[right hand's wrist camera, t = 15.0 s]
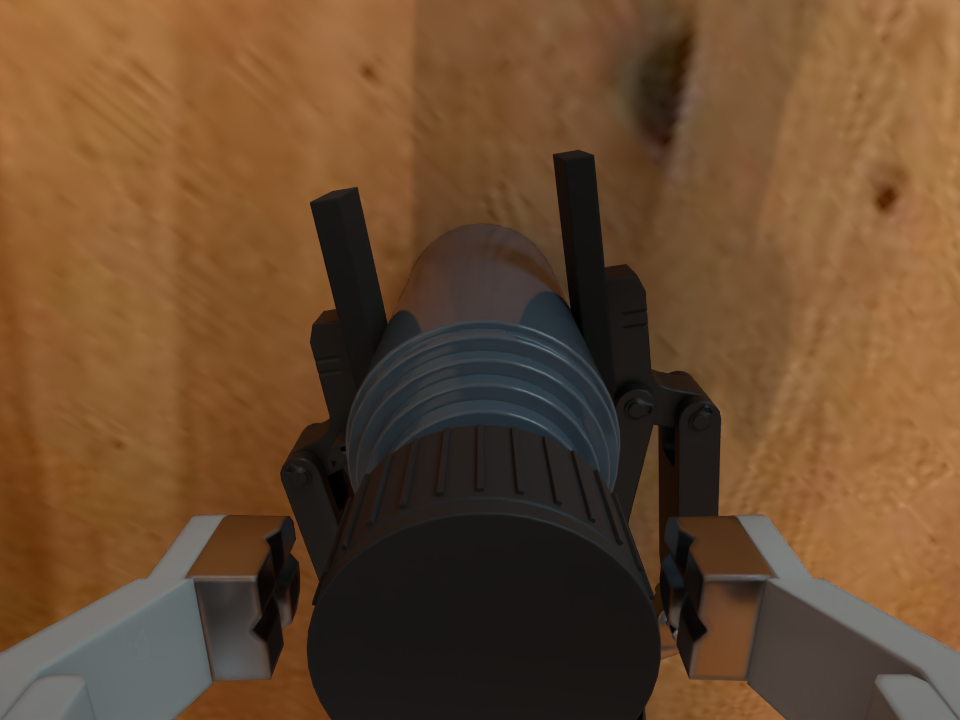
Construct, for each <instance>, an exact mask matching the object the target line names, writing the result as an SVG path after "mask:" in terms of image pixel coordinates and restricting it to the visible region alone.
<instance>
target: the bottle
mask: <svg viewBox="0 0 960 720" xmlns="http://www.w3.org/2000/svg"><path fill="white" fill-rule="evenodd" d="M478 424H483V425H499V426H505V427H512V426H514V427H517V428H518V429H522V430H525V431H529V432H533V433H536V434H539V435H541V436H544V435H546V436H548V437H549V439H551V440H553V441H555V442H557V443H559V444H561V445H562V446H564V447H566V448H568V449H569V450H571V451H572V450H575V451H576V452H577V454H578V456H579V457H580V458H582V459H583V460H584V461H586V462H587V463H588V464H589V465H590V466H591V467H592V468H593V469H594V470H596V469H598V470H599V472H600V473H601V476H602V479H603V481H604V483H605V484H606V485H607V487H608V488H609V490H610V492H611V494H612V492H613V489H614V485H615V481H616V478H617V473H618V464H619V455H620V428H619V422H618V417H617V413H616V410H615V407H614V404H613V401H612V398H611V396H610V394H609V392H608V390H607V387H606V385H605V383H604V381H603V379H602V377H601V374H600V372H599V370H598V368H597V366H596V364H595V362H594V359H593V357H592V355H591V353H590V351H589V349H588V346H587V344H586V342H585V340H584V338H583V336H582V334H581V331H580V329H579V327H578V325H577V323H576V321H575V318H574V316H573V314H572V312H571V310H570V308H569V306H568V303H567V301H566V299H565V297H564V295H563V293H562V290H561V288H560V286H559V284H558V282H557V280H556V278H555V275H554V273H553V271H552V269H551V267H550V265H549V263H548V261H547V259H546V258H545V256H544V255H543V254H542V252H541V251H540V250H539V249H538V248H537V247H536V246H535V244H533V243H532V242H531V241H530V240H529V239H527V238H526V237H524V236H523V235H521V234H519V233H518V232H515V231H513V230H511V229H509V228H505V227H502V226H498V225H492V224H473V225H467V226H463V227H459V228H456V229H454V230H451V231H449V232H447V233H445V234H443V235H442V236H440V237H439V238H437V239H436V240H435V241H433V242H432V243H431V244H430V245H429V246H428V247H427V248H426V249H425V250H424V252H423V253H422V254H421V255H420V257H419V259H418V260H417V262H416V264H415V266H414V268H413V270H412V272H411V274H410V277H409V279H408V281H407V283H406V285H405V288H404V290H403V292H402V294H401V297H400V299H399V301H398V303H397V305H396V308H395V310H394V312H393V314H392V316H391V319H390V321H389V323H388V325H387V327H386V330H385V332H384V334H383V336H382V339H381V341H380V343H379V345H378V347H377V350H376V352H375V354H374V356H373V358H372V361H371V363H370V365H369V367H368V369H367V372H366V374H365V376H364V378H363V381H362V383H361V385H360V387H359V389H358V392H357V394H356V396H355V399H354V401H353V404H352V406H351V409H350V413H349V417H348V421H347V428H346V438H345V443H346V457H347V464H348V472H349V477H350V482H351V485H352V488H353V491H354V494H355V493H356V492H357V490H358V489H359V487H360V485H361V482H362V479H363V476H364V475H365V474H366V473H367V474H370V473H371V471H372V470H373V469H374V468H375V467H376V466H377V465H378V464H380V463H381V462H382V461H383V460H384V458H385V455H387V454H388V453H390V454H392V453H393V452H395V451H396V450H398V449H399V448H401V447H402V446H404V445H406V444H408V443H410V442H412V440H413V439H414V438H416V437H418V438H420V437H423V436H426V435H429V434H431V433H435V432H437V431H441V430H444V428H448V427H449V428H455V427H461V426H472V425H478Z"/></svg>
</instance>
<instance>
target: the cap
mask: <svg viewBox="0 0 960 720" xmlns="http://www.w3.org/2000/svg"><path fill="white" fill-rule="evenodd" d="M654 599H655V598H654V595H653V592H652V589H651V586H650V584H649V581H648V578H647V575H646V573H645V570H644V567H643V564H642V561H641V559H640V556H639V553H638V550H637V548H636V545H635V542H634V539H633V537H632V534H631V531H630V528H629V525H628V523H627V520H626V518H625V517H624V514H623V512H622V509H621V506H620V503H619V501H618V498H617V495H616V493H615V492H614V493H612V494H611V492H610V490H609V488H608V487H607V485H606V484H605V483H604V481H603V479H602V476H601V473H600V472H599V470H598V469H596V470H594V469H593V468H592V467H591V466H590V465H589V464H588V463H587V462H586V461H584V460H583V459H582V458H580V457H579V456H578V454H577V452H576V451H575V450H572V451H571V450H569V449H568V448H566V447H564V446H562V445H561V444H559V443H557V442H555V441H553V440H551V439H549V437H548V436H546V435H544V436H541V435H539V434H536V433H533V432H529V431H525V430H522V429H518V428H517V427H514V426H512V427H505V426H499V425H483V424H478V425H472V426H461V427H455V428H449V427H448V428H444V430H441V431H437V432H435V433H431V434H429V435H426V436H423V437H420V438H418V437H416V438H414V439H413V440H412V442H410V443H408V444H406V445H404V446H402V447H401V448H399V449H398V450H396V451H395V452H393V453H392V454H390V453H388V454H387V455H385V458H384V460H383V461H382V462H381V463H380V464H378V465H377V466H376V467H375V468H374V469H373V470H372V471H371V473H370V474H367V473H366V474H365V475H364V476H363V479H362V482H361V485H360V487H359V489H358V490H357V492H356V493H355V495H354V497H353V498H352V497H349V499H348V501H347V504H346V507H345V510H344V513H343V516H342V518H341V521H340V524H339V527H338V530H337V533H336V535H335V538H334V541H333V544H332V547H331V550H330V553H329V556H328V558H327V561H326V564H325V567H324V570H323V573H322V576H321V578H320V581H319V584H318V587H317V590H316V593H315V596H314V598H313V602H312V605H315V608H314V611H313V614H312V618H311V622H310V626H309V630H308V639H307V658H308V668H309V672H310V676H311V680H312V684H313V687H314V689H315V691H316V694H317V696H318V698H319V701H320V703H321V704H322V706H323V707H324V709H325V711H326V712H327V714H328V715H329V717H330V718H331V720H636V719H637V718H638V717H639V715H640V714H641V712H642V711H643V710H644V708H645V706H646V704H647V702H648V700H649V698H650V696H651V694H652V692H653V689H654V686H655V683H656V680H657V677H658V672H659V666H660V660H661V637H660V631H659V626H658V620H657V617H656V614H655V612H654V609H653V606H652V603H651V600H654Z"/></svg>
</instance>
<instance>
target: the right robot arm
mask: <svg viewBox="0 0 960 720" xmlns="http://www.w3.org/2000/svg"><path fill="white" fill-rule="evenodd" d="M295 540H296V536H295V529H294V523H293V520H292V519H291V518H290V516H261V515H228V516H227V515H197V516H194V517H192V518H191V519H190V520H189V521H188V523H187V524H186V525H185V527H184V528H183V530H182V531H181V532H180V534H179V535H178V536H177V538H176V539H175V540H174V542H173V543H172V545H171V546H170V547H169V549H168V550H167V551H166V553H165V554H164V555H163V557H162V558H161V559H160V561H159V562H158V564H157V565H156V566H155V568H154V569H153V570H152V572H151V573H150V574H149V576H148V577H147V579H135V580H133V581H132V582H130V583H128V584H126V585H124V586H122V587H121V588H119V589H117V590H115V591H113V592H111V593H109V594H108V595H106V596H104V597H102V598H100V599H98V600H97V601H95V602H93V603H91V604H89V605H87V606H86V607H84V608H82V609H80V610H78V611H76V612H75V613H73V614H71V615H69V616H67V617H65V618H63V619H62V620H60V621H58V622H56V623H54V624H52V625H51V626H49V627H47V628H45V629H43V630H41V631H40V632H38V633H36V634H34V635H32V636H30V637H28V638H27V639H25V640H23V641H21V642H19V643H17V644H16V645H14V646H12V647H10V648H8V649H6V650H5V651H3V652H1V653H0V720H174V719H175V718H176V717H177V716H178V715H179V714H181V713H182V712H183V711H184V710H185V709H186V708H187V707H188V706H189V705H190V704H191V703H193V702H194V701H195V700H196V699H197V698H198V697H199V696H200V695H201V694H202V693H203V692H204V691H206V690H207V689H208V688H209V687H210V686H211V685H212V681H224V680H259V679H271V677H272V674H273V671H274V669H275V666H276V664H277V661H278V658H279V656H280V653H281V650H282V648H283V645H284V642H283V634H282V630H283V629H284V628H286V627H287V626H288V625H289V624H291V623H292V621H293V618H294V615H295V612H296V610H297V605H298V599H299V593H300V570H299V562H298V561H297V560H296V559H295V558H294V557H293V556H292V555H291V554H290V552H291V549H292V547H293V545H294V542H295ZM664 540H665V543H666V545H667V547H668V550H669V552H670V553H669V554H668V556H667V557H666V558H665V559H664V560H663V561H662V562H661V571H660V593H661V601H662V605H663V610H664V613H665V616H666V618H667V621H668V623H669V624H670V625H672V626H673V627H674V628H676V629H677V630H678V634H677V642H676V645H677V648H678V651H679V653H680V656H681V658H682V661H683V664H684V666H685V669H686V671H687V674H688V677H689V679H700V680H735V681H748V682H747V684H748V685H749V686H750V687H751V688H753V689H754V690H755V691H756V692H757V693H758V694H759V695H760V696H761V697H762V698H763V699H764V700H766V701H767V702H768V703H769V704H770V705H771V706H772V707H773V708H774V709H775V710H776V711H777V712H779V713H780V714H781V715H782V716H783V717H784V718H785V719H786V720H960V653H959V652H957V651H955V650H953V649H951V648H949V647H948V646H946V645H944V644H942V643H940V642H938V641H937V640H935V639H933V638H931V637H929V636H927V635H926V634H924V633H922V632H920V631H918V630H916V629H915V628H913V627H911V626H909V625H907V624H905V623H904V622H902V621H900V620H898V619H896V618H894V617H893V616H891V615H889V614H887V613H885V612H883V611H882V610H880V609H878V608H876V607H874V606H872V605H871V604H869V603H867V602H865V601H863V600H861V599H860V598H858V597H856V596H854V595H852V594H850V593H849V592H847V591H845V590H843V589H841V588H839V587H838V586H836V585H834V584H832V583H830V582H828V581H827V580H825V579H813V577H812V576H811V575H810V573H809V572H808V571H807V569H806V568H805V567H804V565H803V564H802V562H801V561H800V560H799V558H798V557H797V556H796V554H795V553H794V552H793V550H792V549H791V548H790V546H789V545H788V544H787V542H786V541H785V539H784V538H783V537H782V535H781V534H780V533H779V531H778V530H777V529H776V527H775V526H774V525H773V523H772V522H771V521H770V519H769V518H768V517H766V516H764V515H763V514H755V515H731V516H696V517H669V518H668V520H667V523H666V527H665V535H664Z"/></svg>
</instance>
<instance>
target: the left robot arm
mask: <svg viewBox="0 0 960 720" xmlns="http://www.w3.org/2000/svg"><path fill="white" fill-rule="evenodd" d="M553 160H554V169H555V178H556V186H557V195H558V204H559V212H560V221H561V230H562V238H563V247H564V256H565V264H566V273H567V282H568V290H569V299H570V308H571V312H572V314H573V316H574V318H575V321H576V323H577V325H578V327H579V329H580V331H581V334H582V336H583V338H584V340H585V342H586V344H587V346H588V349H589V351H590V353H591V355H592V357H593V359H594V362H595V364H596V366H597V368H598V370H599V372H600V374H601V377H602V379H603V381H604V383H605V385H606V387H607V390H608V392H609V394H610V396H611V398H612V401H613V404H614V407H615V410H616V413H617V417H618V422H619V428H620V455H619V464H618V473H617V478H616V481H615V485H614V489H613V492H612V493H614V492H615V493H616V495H617V498H618V501H619V503H620V506H621V509H622V512H623V514H624V517H625V518H626V520H627V523H628V521H629V517H630V514H631V510H632V506H633V502H634V498H635V494H636V490H637V486H638V482H639V478H640V475H641V471H642V467H643V463H644V459H645V455H646V451H647V447H648V443H649V440H650V436H651V432H652V428H653V424H654V425H658V430H659V553H660V563H661V562H662V561H663V560H664V559H665V558H666V557H667V556H668V554H669V553H670V552H669V550H668V547H667V545H666V543H665V540H664V535H665V527H666V523H667V520H668V518H669V517H696V516H718V501H719V467H720V434H721V416H720V411H719V410H718V409H717V407H716V406H715V405H714V404H713V402H712V401H711V399H710V398H709V397H708V396H707V395H706V393H705V392H704V391H703V390H702V388H701V387H700V386H699V385H698V384H697V382H696V381H695V380H694V379H693V378H692V376H691V375H690V374H688V373H686V372H684V371H674V372H671V373H669V374H668V373H663V372H658V371H655V370H652V369H651V361H650V347H649V333H648V325H647V324H648V319H647V311H646V310H647V306H646V292H645V289H644V288H643V286H642V284H641V282H640V280H639V278H638V276H637V275H636V274H635V273H634V271H633V270H632V269H631V268H630V267H629V266H628V265H627V264H624V265H618V266H611V267H604V256H603V245H602V235H601V224H600V213H599V203H598V192H597V181H596V171H595V160H594V155H592V154H589V153H586V152H583V151H580V150H576V151H570V152H564V153H558V154H553ZM310 205H311V209H312V213H313V217H314V221H315V225H316V230H317V234H318V238H319V242H320V246H321V250H322V254H323V258H324V262H325V266H326V270H327V274H328V278H329V282H330V286H331V290H332V294H333V298H334V302H335V306H336V309H334V310H328V311H323V313H322V314H321V315H320V316H319V318H318V319H317V320H316V321H315V323H314V324H313V325H312V332H311V339H310V344H311V348H312V352H313V355H314V359H315V361H316V366H317V370H318V373H319V378H320V381H321V385H322V389H323V393H324V396H325V400H326V404H327V408H328V411H329V415H330V419H329V420H327V421H325V422H323V423H314V424H311V425H309V426H307V427H306V428H305V429H304V430H303V431H302V433H301V435H300V437H299V439H298V440H297V442H296V444H295V446H294V447H293V449H292V451H291V453H290V454H289V456H288V458H287V460H286V461H285V463H284V465H283V467H282V470H281V473H280V474H281V480H282V483H283V486H284V488H285V491H286V494H287V496H288V499H289V502H290V504H291V507H292V510H293V512H294V515H295V518H296V520H297V523H298V526H299V528H300V531H301V534H302V537H303V539H304V542H305V545H306V547H307V550H308V553H309V555H310V558H311V561H312V563H313V566H314V569H315V571H316V574H317V577H318V579H319V581H320V578H321V576H322V573H323V570H324V567H325V564H326V561H327V558H328V556H329V553H330V550H331V547H332V544H333V541H334V538H335V535H336V533H337V530H338V527H339V524H340V521H341V518H342V516H343V513H344V510H345V507H346V504H347V501H348V499H349V497H352V498H353V497H354V495H355V494H354V491H353V488H352V485H351V482H350V477H349V472H348V464H347V457H346V443H345V438H346V428H347V421H348V417H349V413H350V409H351V406H352V404H353V401H354V399H355V396H356V394H357V392H358V389H359V387H360V385H361V383H362V381H363V378H364V376H365V374H366V372H367V369H368V367H369V365H370V363H371V361H372V358H373V356H374V354H375V352H376V350H377V347H378V345H379V343H380V341H381V339H382V336H383V334H384V332H385V330H386V327H387V325H388V323H387V319H386V314H385V310H384V305H383V301H382V296H381V292H380V287H379V283H378V278H377V273H376V269H375V264H374V260H373V255H372V251H371V246H370V242H369V237H368V233H367V228H366V224H365V219H364V214H363V210H362V205H361V201H360V196H359V192H358V187H354V188H348V189H342V190H336V191H332V192H330V193H328V194H326V195H324V196H322V197H320V198H318V199H316V200H314V201H312V202H310ZM655 591H656V594H655V595H654V598H655V599H654V600H652V602H651V603H652V606H653V609H654V612H655V614H656V617H657V620H658V626H659V631H660V637H661V660H662V659H665V658H667V657H670V656H673V655H676V654H678V653H679V651H678V648H677V645H676V642H677V634H678V630H677V629H676V628H674V627H673V626H672V625H670V624H669V623H668V621H667V618H666V616H665V613H664V610H663V605H662V601H661V593H660V583H658V584H657V585H656V587H655ZM636 720H646V716H645V708H644V710H643V711H642V712H641V714H640V715H639V717H638V718H637V719H636Z"/></svg>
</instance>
